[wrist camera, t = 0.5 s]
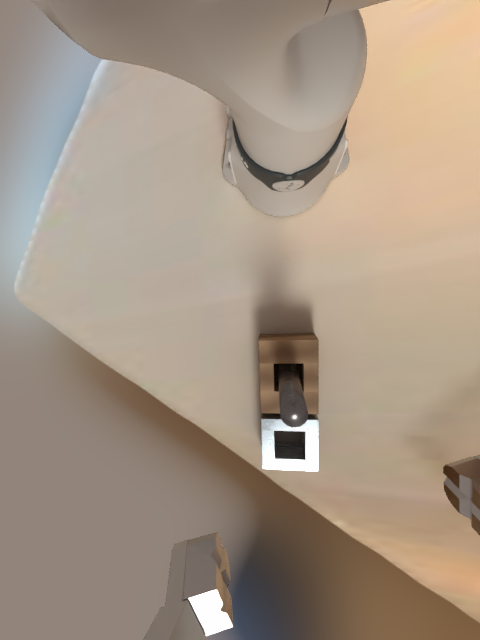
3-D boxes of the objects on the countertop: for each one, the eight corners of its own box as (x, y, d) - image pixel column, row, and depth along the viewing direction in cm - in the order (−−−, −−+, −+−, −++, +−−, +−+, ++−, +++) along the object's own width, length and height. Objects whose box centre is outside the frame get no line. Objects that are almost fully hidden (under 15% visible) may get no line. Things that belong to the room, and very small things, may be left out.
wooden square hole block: (259, 334, 47) (258, 340, 42) (314, 333, 46) (318, 339, 41) (262, 400, 49) (260, 413, 44) (314, 401, 47) (318, 414, 43)
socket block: (262, 405, 49) (261, 418, 44) (314, 406, 48) (318, 420, 43) (263, 452, 50) (262, 469, 46) (314, 453, 49) (318, 471, 45)
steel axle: (277, 359, 47) (279, 401, 31) (296, 359, 47) (308, 401, 31) (278, 376, 47) (280, 427, 32) (296, 376, 47) (308, 427, 31)
